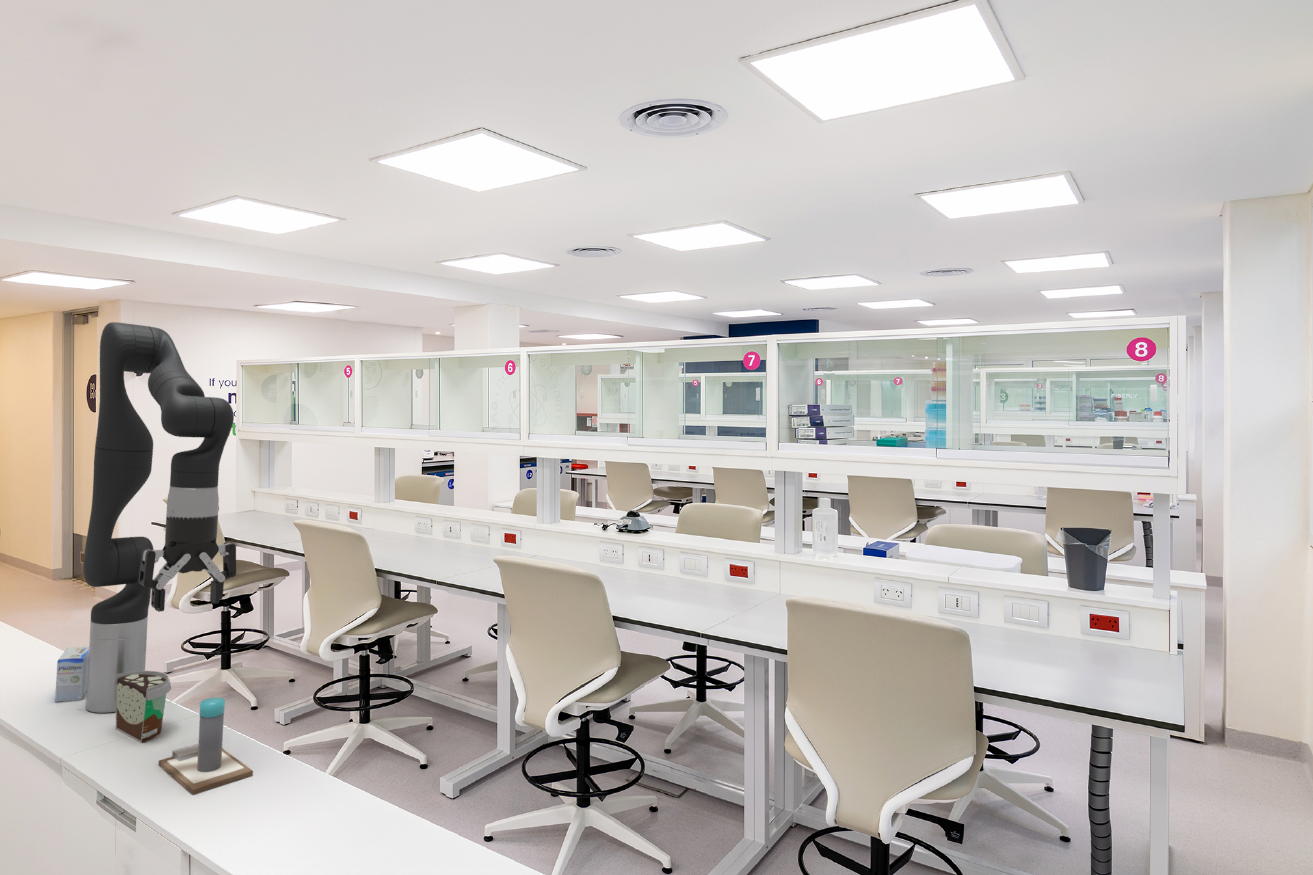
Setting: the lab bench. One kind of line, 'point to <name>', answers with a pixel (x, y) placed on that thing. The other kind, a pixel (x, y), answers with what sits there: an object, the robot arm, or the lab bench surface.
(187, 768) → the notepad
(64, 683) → the medicine box
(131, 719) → the food container
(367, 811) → the lab bench surface
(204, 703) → the marker
